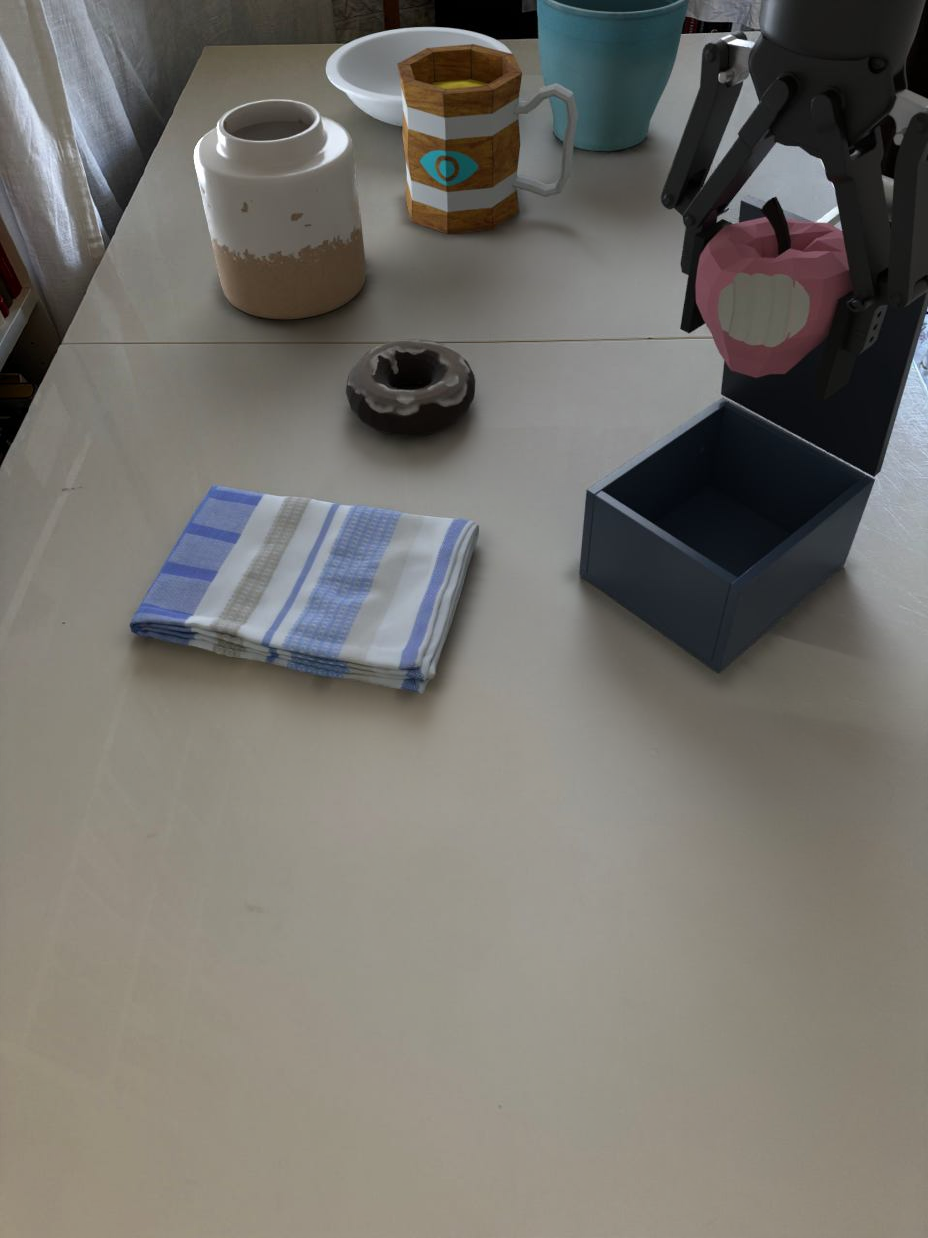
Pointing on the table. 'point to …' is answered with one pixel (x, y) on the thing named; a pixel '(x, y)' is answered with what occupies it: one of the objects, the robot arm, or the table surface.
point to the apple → (771, 289)
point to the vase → (282, 209)
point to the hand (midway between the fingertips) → (761, 354)
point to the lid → (860, 408)
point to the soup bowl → (390, 65)
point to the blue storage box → (721, 530)
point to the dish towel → (313, 586)
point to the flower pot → (608, 64)
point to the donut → (417, 407)
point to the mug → (469, 137)
